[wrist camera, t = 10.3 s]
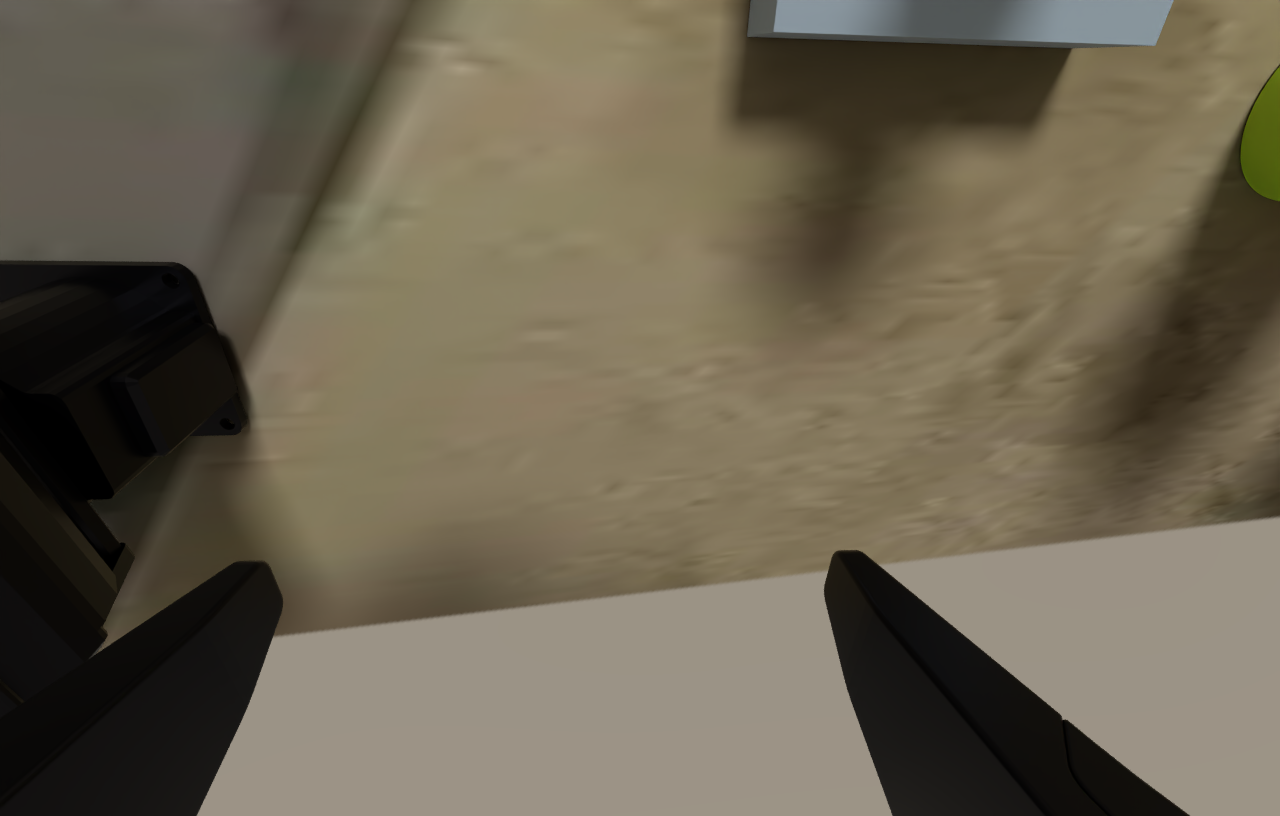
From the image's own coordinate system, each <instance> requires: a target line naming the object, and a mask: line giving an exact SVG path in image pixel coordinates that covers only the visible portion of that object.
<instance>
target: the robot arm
mask: <svg viewBox="0 0 1280 816" xmlns="http://www.w3.org/2000/svg"><path fill="white" fill-rule="evenodd" d="M170 274H173V275H174V276H175V277H177V279H178V280H179V284H177V283H175V282H174V281H172V279H171V278H170ZM226 418H227V419H230V420H231V421H233V423H234V424H231V423H230V422H228V421H227V419H226ZM246 425H247V418H246V415H245V412H244V410H243V407H242V404H241V401H240V399H239V396H238V393H237V386H236V383H235V381H234V378H233V375H232V373H231V370H230V367H229V365H228V362H227V359H226V357H225V354H224V351H223V348H222V346H221V343H220V340H219V338H218V335H217V332H216V330H215V329H214V328H213V326H212V324H211V321H210V318H209V316H208V313H207V310H206V308H205V305H204V302H203V300H202V297H201V294H200V292H199V289H198V286H197V284H196V281H195V278H194V276H193V274H192V273H191V271H190V270H189V269H188V268H186V267H185V266H183V265H181V264H179V263H175V262H105V261H0V816H197V814H198V812H199V810H200V807H201V805H202V803H203V801H204V799H205V797H206V795H207V793H208V791H209V788H210V786H211V784H212V782H213V780H214V778H215V776H216V774H217V772H218V769H219V767H220V765H221V763H222V761H223V759H224V757H225V755H226V752H227V750H228V748H229V746H230V744H231V742H232V740H233V738H234V736H235V734H236V731H237V729H238V727H239V725H240V723H241V721H242V718H243V716H244V714H245V712H246V709H247V707H248V704H249V702H250V699H251V697H252V694H253V692H254V688H255V686H256V683H257V680H258V677H259V675H260V672H261V669H262V666H263V663H264V660H265V658H266V655H267V652H268V649H269V646H270V644H271V641H272V638H273V635H274V632H275V629H276V627H277V624H278V621H279V618H280V615H281V612H282V607H283V598H282V594H281V592H280V590H279V587H278V585H277V582H276V580H275V578H274V575H273V573H272V570H271V568H270V566H269V564H267V563H266V562H265V561H238V562H235V563H233V564H231V565H229V566H228V567H226V568H225V569H223V570H222V571H220V572H219V573H217V574H216V575H214V576H213V577H211V578H210V579H208V580H207V581H205V582H204V583H202V584H201V585H199V586H198V587H196V588H195V589H193V590H192V591H190V592H189V593H187V594H186V595H184V596H183V597H181V598H180V599H178V600H177V601H175V602H174V603H172V604H171V605H169V606H168V607H166V608H165V609H163V610H162V611H160V612H159V613H157V614H156V615H154V616H153V617H151V618H150V619H148V620H147V621H145V622H144V623H142V624H141V625H139V626H138V627H136V628H135V629H133V630H132V631H130V632H129V633H127V634H126V635H124V636H123V637H121V638H120V639H118V640H117V641H115V642H114V643H112V644H111V645H109V646H108V647H106V648H105V649H103V650H102V651H100V652H99V653H97V652H98V650H99V649H100V648H101V647H102V645H103V643H104V641H105V639H106V638H107V636H108V635H107V631H106V630H105V629H104V628H103V625H104V623H105V621H106V618H107V616H108V614H109V612H110V610H111V608H112V606H113V603H114V601H115V599H116V597H117V595H118V593H119V591H120V588H121V586H122V584H123V582H124V580H125V578H126V576H127V573H128V571H129V569H130V567H131V565H132V563H133V561H134V559H135V556H134V554H133V553H132V552H131V550H130V549H129V548H128V546H127V545H126V544H125V543H119V541H118V540H117V539H116V538H115V536H114V535H113V534H112V532H111V531H110V530H109V528H108V527H107V526H106V525H105V523H104V522H103V521H102V519H101V518H100V517H99V515H98V514H97V513H96V512H95V510H94V509H93V508H92V506H91V505H90V504H89V503H90V502H91V501H92V500H93V499H110V498H113V497H114V496H115V495H116V494H117V493H118V492H119V491H120V490H122V489H123V488H124V487H125V486H126V485H127V484H128V483H129V482H131V481H132V480H133V479H134V478H135V477H136V476H137V475H138V474H140V473H141V472H142V471H143V470H144V469H145V468H146V467H147V466H149V465H150V464H151V463H152V462H153V461H154V460H155V459H156V458H158V457H165V456H167V455H168V454H170V453H171V452H172V451H173V450H174V449H175V448H176V447H177V446H178V445H179V444H181V443H182V442H183V441H184V440H185V439H186V438H187V437H188V436H208V435H236V434H238V433H239V432H241V431H242V430H243V429H244V428H245V427H246ZM824 596H825V602H826V606H827V610H828V614H829V618H830V622H831V626H832V630H833V635H834V639H835V643H836V647H837V651H838V655H839V659H840V663H841V667H842V671H843V675H844V679H845V683H846V686H847V690H848V693H849V696H850V699H851V702H852V704H853V707H854V710H855V713H856V716H857V719H858V721H859V724H860V727H861V730H862V732H863V735H864V738H865V741H866V743H867V746H868V749H869V752H870V755H871V757H872V760H873V763H874V766H875V768H876V771H877V774H878V777H879V779H880V782H881V785H882V787H883V790H884V793H885V796H886V798H887V801H888V804H889V807H890V809H891V813H892V815H893V816H1190V815H1188V814H1187V813H1186V812H1184V811H1183V810H1182V809H1180V808H1179V807H1178V806H1176V805H1175V804H1174V803H1172V802H1171V801H1170V800H1168V799H1167V798H1166V797H1164V796H1163V795H1162V794H1160V793H1159V792H1158V791H1156V790H1155V789H1153V788H1152V787H1151V786H1150V785H1148V784H1147V783H1146V782H1144V781H1143V780H1142V779H1140V778H1139V777H1137V776H1136V775H1135V774H1134V773H1132V772H1131V771H1130V770H1129V769H1127V768H1126V767H1125V766H1123V765H1122V764H1121V763H1120V762H1119V761H1117V760H1116V759H1115V758H1114V757H1112V756H1111V755H1110V754H1109V753H1107V752H1106V751H1105V750H1104V749H1102V748H1101V747H1100V746H1098V745H1097V744H1096V743H1095V742H1093V741H1092V740H1091V739H1090V738H1088V737H1087V736H1086V735H1085V734H1084V733H1083V732H1081V731H1080V730H1079V729H1078V728H1076V727H1075V726H1074V725H1073V724H1072V723H1070V722H1069V721H1068V720H1062V716H1061V715H1060V714H1059V713H1058V712H1057V711H1055V710H1054V709H1053V708H1052V707H1051V706H1049V705H1048V704H1047V703H1046V702H1044V701H1043V700H1042V699H1041V698H1040V697H1038V696H1037V695H1036V694H1035V693H1034V692H1032V691H1031V690H1030V689H1029V688H1027V687H1026V686H1025V685H1024V684H1022V683H1021V682H1020V681H1019V680H1018V679H1017V678H1015V677H1014V676H1013V675H1012V674H1010V673H1009V672H1008V671H1007V670H1006V669H1004V668H1003V667H1002V666H1001V665H1000V664H998V663H997V662H996V661H995V660H993V659H992V658H991V657H990V656H988V655H987V654H986V653H985V652H984V651H982V650H981V649H980V648H979V647H978V646H976V645H975V644H974V643H973V642H972V641H970V640H969V639H968V638H966V637H965V636H964V635H963V634H962V633H961V632H959V631H958V630H957V629H956V628H954V627H953V626H952V625H951V624H949V623H948V622H947V621H946V620H945V619H944V618H942V617H941V616H940V615H938V614H937V613H936V612H935V611H934V610H932V609H931V608H930V607H929V606H928V605H926V604H925V603H924V602H923V601H922V600H920V599H919V598H918V597H917V596H915V595H914V594H913V593H912V592H911V591H909V590H908V589H907V588H906V587H905V586H903V585H902V584H901V583H900V582H898V581H897V580H896V579H895V578H894V577H892V576H891V575H890V574H889V573H888V572H886V571H885V570H884V569H883V568H881V567H880V566H879V565H878V564H877V563H875V562H874V561H873V560H872V559H871V558H869V557H868V556H867V555H866V554H864V553H863V552H861V551H858V550H839V551H836V552H835V553H834V554H833V556H832V559H831V563H830V566H829V570H828V574H827V578H826V581H825V586H824ZM96 653H97V654H96ZM95 654H96V655H95Z"/></svg>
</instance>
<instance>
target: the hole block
mask: <svg viewBox="0 0 1280 816" xmlns="http://www.w3.org/2000/svg"><path fill="white" fill-rule="evenodd" d="M1172 3H1173V0H751V3H750V13H749V22H748V32H747V37H769V38H797V39H825V40H853V41H882V42H910V43H938V44H966V45H995V46H1023V47H1051V48H1098V47H1129V46H1155V45H1156V42H1157V40H1158V37H1159V35H1160V32H1161V30H1162V28H1163V25H1164V23H1165V20H1166V18H1167V15H1168V13H1169V10H1170V8H1171V5H1172Z"/></svg>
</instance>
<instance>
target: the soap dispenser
mask: <svg viewBox="0 0 1280 816" xmlns="http://www.w3.org/2000/svg"><path fill="white" fill-rule="evenodd" d="M1241 166H1242V170H1243V174H1244V176H1245V179H1246V180H1247V182H1248V184H1249V185H1250V186H1251V187H1252V189H1254V190H1255V191H1256V192H1257V193H1258V194H1260V195H1262V196H1264V197H1266V198H1269V199H1272V200H1276V201H1280V66H1279V68H1278V69H1277V70H1276V71H1275V73H1274V74H1273V75H1272V77H1271V78H1270V80H1269V81H1268V82H1267V84H1266V85H1265V87H1264V89H1263V90H1262V92H1261V93H1260V95H1259V97H1258V99H1257V101H1256V102H1255V104H1254V106H1253V108H1252V111H1251V113H1250V115H1249V118H1248V120H1247V123H1246V126H1245V130H1244V133H1243V138H1242V143H1241Z"/></svg>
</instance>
